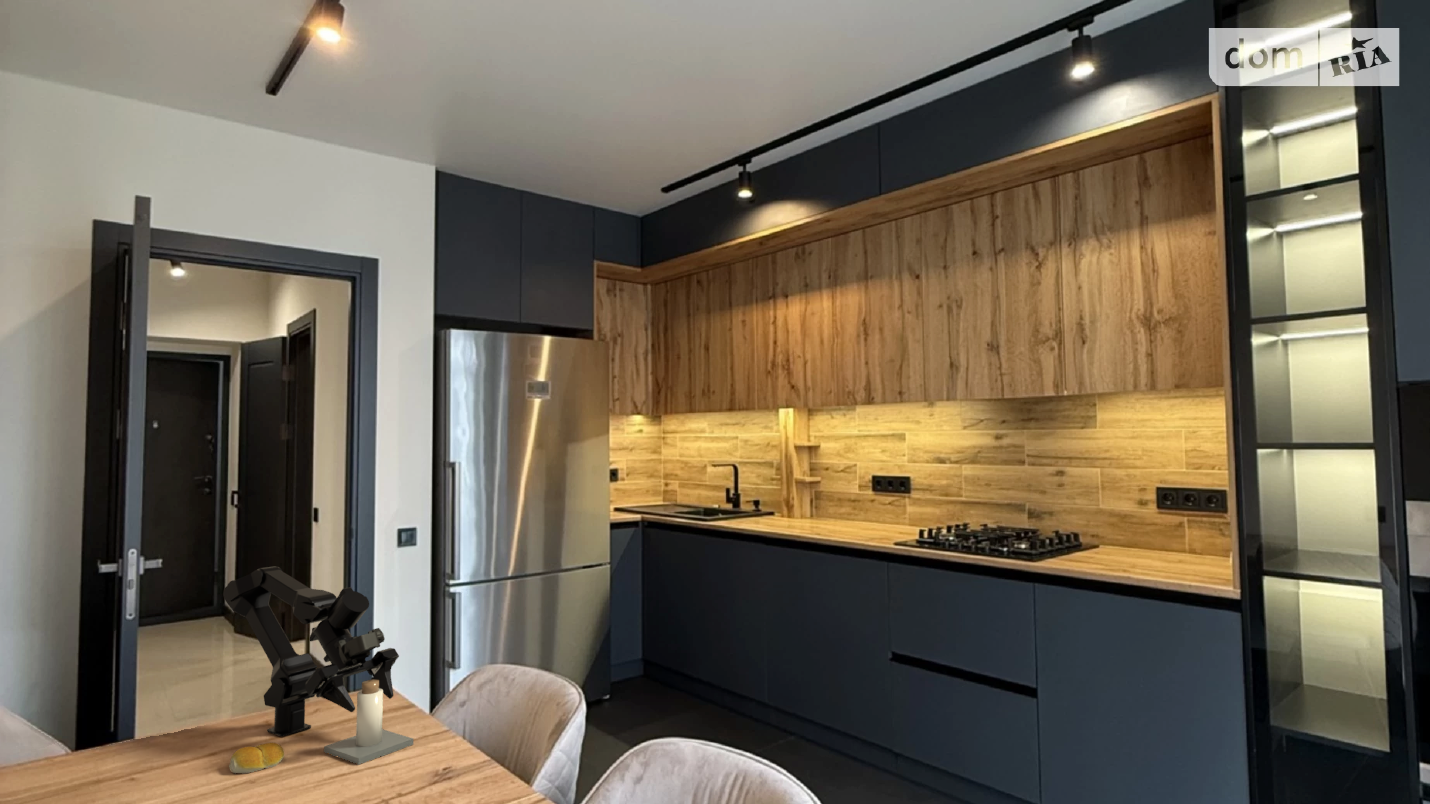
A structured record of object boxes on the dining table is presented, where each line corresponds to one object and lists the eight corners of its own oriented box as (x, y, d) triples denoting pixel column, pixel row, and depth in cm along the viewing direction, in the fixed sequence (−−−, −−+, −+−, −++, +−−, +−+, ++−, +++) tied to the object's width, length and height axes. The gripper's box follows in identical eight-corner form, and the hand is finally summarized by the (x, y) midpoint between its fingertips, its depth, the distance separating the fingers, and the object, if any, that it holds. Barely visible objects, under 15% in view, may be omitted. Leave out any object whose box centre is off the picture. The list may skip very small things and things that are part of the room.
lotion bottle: (350, 746, 150) (352, 684, 151) (365, 737, 154) (366, 678, 155) (372, 747, 149) (374, 685, 150) (386, 738, 154) (388, 678, 155)
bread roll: (289, 764, 145) (290, 743, 145) (236, 778, 138) (237, 756, 138) (275, 753, 150) (276, 732, 151) (224, 766, 144) (225, 745, 144)
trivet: (323, 752, 150) (324, 746, 150) (378, 733, 160) (378, 728, 160) (358, 764, 143) (358, 758, 143) (413, 744, 153) (413, 738, 153)
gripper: (316, 627, 147) (353, 691, 142) (394, 610, 164) (429, 666, 158) (289, 663, 150) (324, 728, 144) (368, 643, 167) (402, 700, 161)
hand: (373, 703), depth 152 cm, fingers open, 9 cm apart
